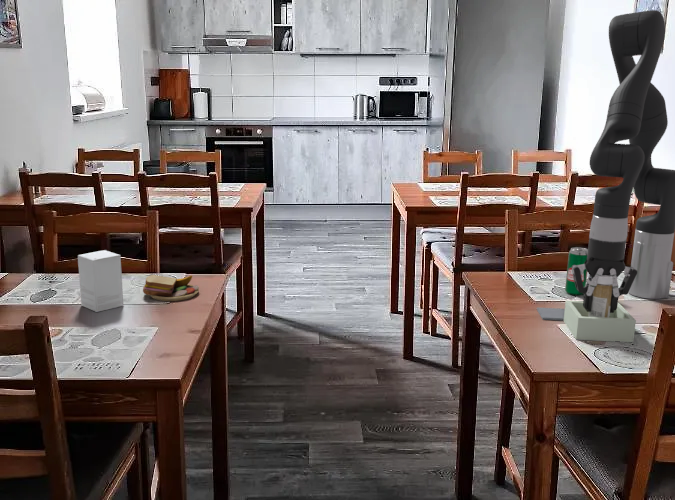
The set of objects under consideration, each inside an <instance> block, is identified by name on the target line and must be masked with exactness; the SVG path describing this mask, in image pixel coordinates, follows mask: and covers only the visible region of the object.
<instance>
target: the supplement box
mask: <svg viewBox="0 0 675 500" xmlns="http://www.w3.org/2000/svg"><path fill="white" fill-rule="evenodd" d="M121 257H122V256H121V254H118V253H115V252H111V251H109V250H107V249H104V250H98V251H93V252H88V253H83V254H78V255H77V265H78V275H79V276H78V277H79V279H78V280H79V289H80V290H79V292H80V305H81V306H82V307H84V308H86V309H89V310H91V311H93V312H96V313H97V312H98V313H99V312H103V311H108V310H111V309H115V308H120V307H123V306H124V295H123V294H124V291H123V289H124V288H123V277H122V275H123V274H122V262H121V261H122V260H121V259H122V258H121Z"/></svg>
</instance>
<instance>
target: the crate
mask: <svg viewBox="0 0 675 500" xmlns="http://www.w3.org/2000/svg"><path fill="white" fill-rule="evenodd" d="M564 309H565V312H564V321H563V323H564V324H565V326H566V327H567V328H568V330H569V332H571V334H572V336H573V338H575V340H576V341H577V340H580V341H597V342H615V341H620V342H619V343H634V339H635V338H634V337H635V332H636V331H635V329H636V323H637V320H636V319H635V318H634V317H633V316H632V315H631V313H630V312H629V311H627V309H625V308H624V306H622V304H620V303H619V302H618V305H617V309H616V310H614V313H610V316H609V318H605V317H589V312H587V311H586V310H585V308H584V307H583V300H565V304H564Z"/></svg>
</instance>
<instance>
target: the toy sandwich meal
mask: <svg viewBox="0 0 675 500" xmlns="http://www.w3.org/2000/svg"><path fill="white" fill-rule="evenodd" d="M192 279H193V275H189V276H186V277H182V278H176V277H171V276H163V275H157V274H151V275H149V276H147V277H145V284H144V285H143V287H142V292H143V294H144V295H148V296H149V297H151V298H153V299H154V300H157V301H163V302H177V301H178V302H179V301H185V300H188V299H191V298H193V297H194V296H196V294H198V293H199V290H200V286H199V285H193V284H190V283H191V281H192Z"/></svg>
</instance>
